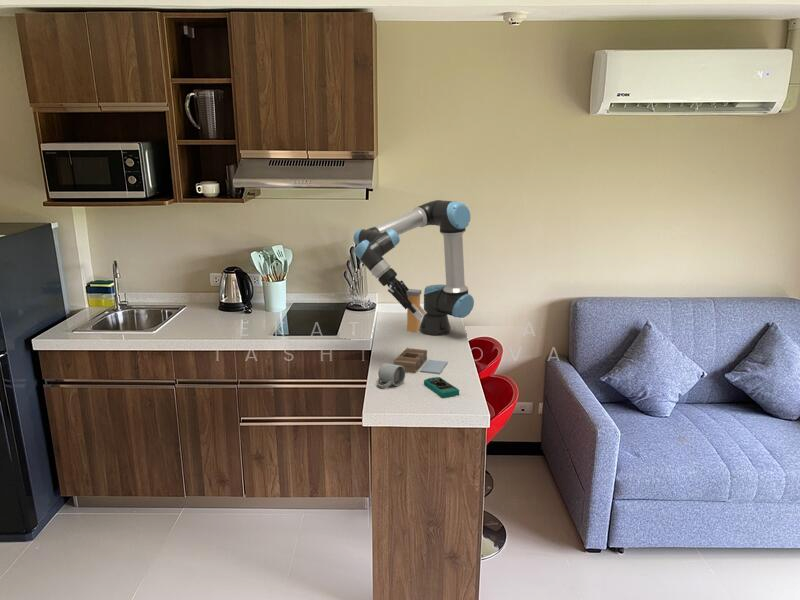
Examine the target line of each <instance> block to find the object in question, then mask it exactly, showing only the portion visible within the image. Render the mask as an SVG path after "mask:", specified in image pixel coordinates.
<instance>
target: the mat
mask: <svg viewBox="0 0 800 600" xmlns="http://www.w3.org/2000/svg"><path fill="white" fill-rule="evenodd" d="M427 360H428V359H427ZM448 362H449V361H444V360H436V359H435V360H434V359H429V360H428V361H426V363H425V364H424V365H422V367H421V369H420V370H419V372H421V373H427V374H435V375H440V374H441V373H442V372H443V370H444V369H445V368H446V366H447V365H448Z"/></svg>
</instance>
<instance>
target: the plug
mask: <svg viewBox="0 0 800 600" xmlns="http://www.w3.org/2000/svg"><path fill="white" fill-rule="evenodd" d="M408 289H409V290H408V291H407V293H406V295H408V300H409V301H410V302H411V305H412V304H414V305H415V307H416V308H417V309H418V310H419V311H420V306H421V295H422V289H415V288H414V289H413V288H408ZM406 310H407V315H406V316H407V318H406V319H407V320H406V321H407V322H406V332H409V333H410V332H412V333H418V332H419V331H420V323H421V322H420V320H421V319H420V320H418V319H417V318H416V317H415V316H414V315H413V314H412V313H411V311H410V310H409V309H408V308H407V309H406Z"/></svg>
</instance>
